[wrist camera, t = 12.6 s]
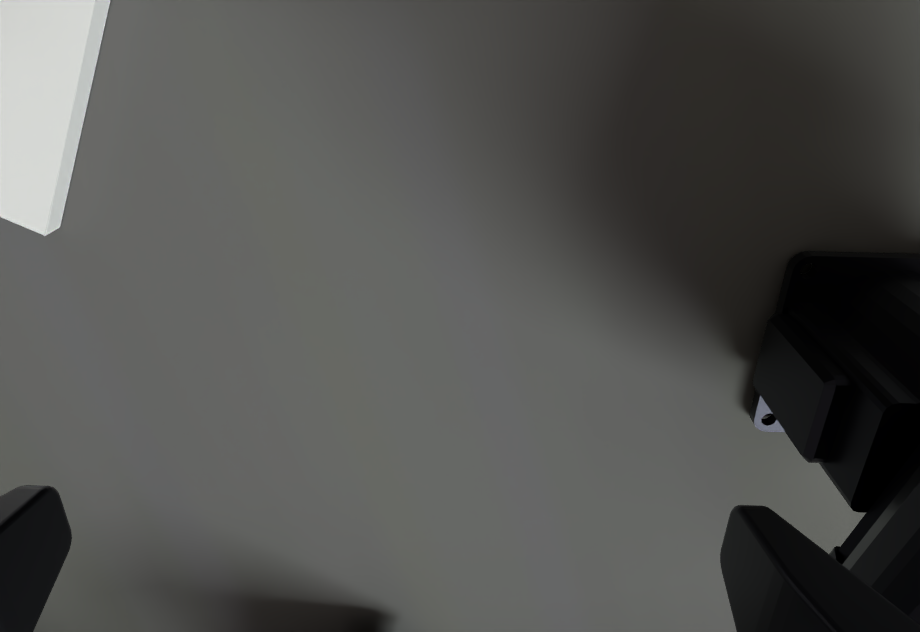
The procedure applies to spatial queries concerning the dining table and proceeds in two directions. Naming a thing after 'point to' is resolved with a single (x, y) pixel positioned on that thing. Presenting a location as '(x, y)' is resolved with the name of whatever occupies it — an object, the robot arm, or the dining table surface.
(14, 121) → the peg board
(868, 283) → the robot arm
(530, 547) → the dining table surface
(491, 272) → the dining table surface
